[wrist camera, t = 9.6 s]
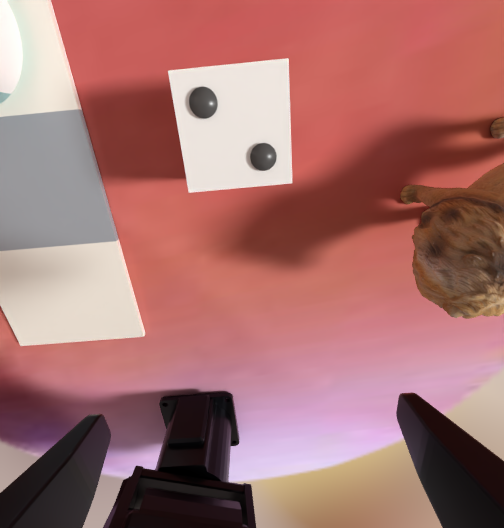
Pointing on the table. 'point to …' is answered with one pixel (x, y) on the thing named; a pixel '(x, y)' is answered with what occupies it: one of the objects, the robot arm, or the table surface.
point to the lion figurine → (462, 243)
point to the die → (234, 124)
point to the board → (56, 205)
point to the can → (9, 51)
